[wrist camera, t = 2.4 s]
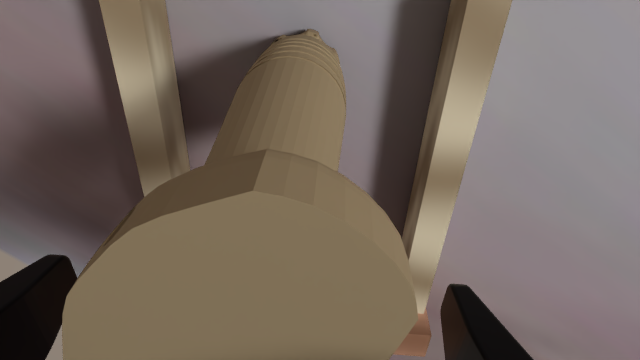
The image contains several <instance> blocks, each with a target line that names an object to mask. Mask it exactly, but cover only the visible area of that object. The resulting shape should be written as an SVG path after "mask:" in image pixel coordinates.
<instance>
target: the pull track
mask: <svg viewBox="0 0 640 360" xmlns="http://www.w3.org/2000/svg"><path fill="white" fill-rule="evenodd" d="M99 3H100V8H101V12H102V16H103V21H104V25H105V29H106V34H107V38H108V42H109V47H110V51H111V55H112V60H113V64H114V68H115V73H116V77H117V81H118V86H119V90H120V94H121V99H122V103H123V107H124V112H125V116H126V120H127V125H128V129H129V133H130V138H131V142H132V146H133V151H134V155H135V159H136V164H137V168H138V172H139V177H140V181H141V185H142V190H143V194H144V197H145V196H146V195H147V194H149V193H150V192H151V191H153V190H154V189H155V188H157V187H158V186H159V185H161V184H163V183H165V182H167V181H168V180H170V179H173V178H175V177H177V176H179V175H182V174H184V173H186V172H189V171H190V165H189V158H188V152H187V145H186V138H185V131H184V125H183V118H182V111H181V104H180V98H179V91H178V84H177V77H176V71H175V64H174V57H173V50H172V44H171V37H170V30H169V23H168V17H167V10H166V3H165V0H99ZM511 3H512V0H451V3H450V7H449V12H448V17H447V22H446V27H445V32H444V37H443V41H442V46H441V51H440V56H439V61H438V66H437V70H436V75H435V80H434V85H433V90H432V95H431V100H430V104H429V109H428V114H427V119H426V124H425V129H424V133H423V138H422V143H421V148H420V153H419V158H418V163H417V167H416V172H415V177H414V182H413V187H412V192H411V196H410V201H409V206H408V211H407V216H406V221H405V226H404V230H403V235H402V242H403V245H404V248H405V251H406V254H407V258H408V261H409V266H410V271H411V275H412V281H413V286H414V292H415V297H416V303H417V311H418V321H417V322H416V324H415V325H414V326H413V328H412V329H411V330H410V332H409V333H408V335H407V336H406V337H405V339H404V340H403V341H402V343H401V344H400V346H399V347H398V348H397V350H396V351H395V352H394V353H393V354H397V355H410V356H423V357H425V354H426V351H427V348H428V345H429V342H430V338H431V331H430V326H429V321H428V316H427V311H426V304H427V300H428V297H429V293H430V290H431V286H432V283H433V279H434V276H435V272H436V269H437V265H438V261H439V258H440V254H441V251H442V247H443V244H444V240H445V237H446V233H447V230H448V226H449V223H450V219H451V215H452V212H453V208H454V205H455V201H456V198H457V194H458V191H459V187H460V184H461V180H462V176H463V173H464V169H465V166H466V162H467V159H468V155H469V152H470V148H471V145H472V141H473V138H474V134H475V130H476V127H477V123H478V120H479V116H480V113H481V109H482V106H483V102H484V99H485V95H486V92H487V88H488V84H489V81H490V77H491V74H492V70H493V67H494V63H495V60H496V56H497V53H498V49H499V45H500V42H501V38H502V35H503V31H504V28H505V24H506V21H507V17H508V14H509V10H510V7H511Z"/></svg>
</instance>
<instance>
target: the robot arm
mask: <svg viewBox="0 0 640 360" xmlns="http://www.w3.org/2000/svg"><path fill="white" fill-rule="evenodd" d="M76 280H77V276H76V273H75V271H74V269H73V266H72V264H71V261H70V259H69V258H68V257H67V256H64V255H47V256H45V257H43V258H41V259H39V260H38V261H36V262H34V263H33V264H31V265H29V266H27V267H26V268H24V269H22V270H21V271H19V272H17V273H15V274H14V275H12V276H10V277H9V278H7V279H5V280H3V281H1V282H0V360H45V359H46V357H47V355H48V353H49V351H50V349H51V347H52V345H53V343H54V341H55V339H56V337H57V334H58V332H59V330H60V327H61V325H62V316H63V310H64V305H65V301H66V296H67V295H68V293H69V291H70V290H71V288H72V287H73V285H74V283H75V282H76ZM441 324H442V333H443V342H444V351H445V360H533V359H532V357H531V356H530V355H529V354H528V353H527V352H526V351H525V350H524V348H523V347H522V346H521V345H520V344H519V343H518V342H517V340H516V339H515V338H514V337H513V336H512V335H511V334H510V333H509V331H508V330H507V329H506V328H505V327H504V326H503V325H502V324H501V322H500V321H499V320H498V319H497V318H496V317H495V316H494V314H493V313H492V312H491V311H490V310H489V309H488V308H487V307H486V305H485V304H484V303H483V302H482V301H481V300H480V299H479V297H478V296H477V295H476V294H475V293H474V292H473V291H472V290H471V288H470V287H468V286H467V285H463V284H450V285H449V286H448V287H447V290H446V293H445V296H444V299H443V303H442V306H441Z"/></svg>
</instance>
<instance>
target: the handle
mask: <svg viewBox="0 0 640 360" xmlns="http://www.w3.org/2000/svg"><path fill="white" fill-rule="evenodd" d="M339 64H340V62H339V58H338V54H337V52H336V50H335V49H334V48H331V47H329V46H327V45H326V44H325V43H324V42H323V41H322V39H321V38H320V36H319V32H318V31H315V30H312V29H307V31H305V32H303V33H301V34H298V35H291V36H286V35H282V36H280V37H278V38H277V39H276V40H275V41H274V42H272V44H271V45H270V47H269V48H268V49H267V50H265V51H264V52H263V53H262V54H261V56H260V57H259V58H258V59H257V60H256V62H255V63H254V64H253V66H252V67H251V68H250V70H249V71H248V73H247V74H246V76H245V77H244V79H243V80H242V82H241V83H240V85H239V87H238V89H237V91H236V94H235V96H234V98H233V101H232V103H231V105H230V108H229V110H228V112H227V115H226V117H225V119H224V122H223V124H222V127H221V129H220V131H219V134H218V136H217V138H216V140H215V143H214V145H213V147H212V149H211V152H210V154H209V156H208V158H207V161H206V163H205V165H204V166H201V167H198V168H196V169H193V170H191V171H189V172H186V173H184V174H182V175H179V176H177V177H175V178H173V179H170V180H168V181H167V182H165V183H163V184H161V185H159V186H158V187H157V188H155V189H154V190H153V191H151V192H150V193H149V194H147V195H146V196H145V197H144V198H143V199H142V200H141V201H140V202H139V203H138V204H137V205H136V206H135V207H134V208H133V209H132V210H131V211H130V212H129V213H128V215H127V216H126V217H125V218H124V219H123V220H122V221H121V222H120V224H119V225H118V226H117V227H116V228H115V229H114V230H113V232H112V233H111V234H110V235H109V236H108V237H107V239H106V240H105V241H104V242H103V244H102V245H101V246H100V248H99V249H98V250H97V252H96V253H95V254H94V256H93V257H92V258H91V260H90V261H89V262H88V264H87V265H86V267H85V268H84V270H83V271H82V272H81V274H80V275H79V277H78V279H77V280H76V282H75V283H74V285H73V287H72V288H71V290H70V291H69V293H68V295H67V296H66V301H65V305H64V310H63V316H62V338H63V339H62V342H63V360H389V359H390V357H391V356H392V355H393V353H394V352H395V351H396V350H397V348H398V347H399V346H400V344H401V343H402V341H403V340H404V339H405V337H406V336H407V335H408V333H409V332H410V330H411V329H412V328H413V326H414V325H415V324H416V322H417V321H418V311H417V303H416V297H415V292H414V286H413V281H412V275H411V271H410V266H409V261H408V258H407V254H406V251H405V248H404V245H403V242H402V239H401V236H400V234H399V232H398V231H397V229H396V228H395V226H394V225H393V223H392V222H391V220H390V219H389V217H388V215H387V214H386V212H385V211H384V210H383V209H382V208H381V207H380V206H379V205H378V204H377V203H376V202H375V201H374V200H373V199H372V198H371V197H370V196H369V195H368V194H367V193H366V192H365V191H364V190H362V189H361V188H360V187H358V186H357V185H356V184H354V183H353V182H352V181H350V180H349V179H348V178H346V177H345V176H344V175H342V174H340V173H338V166H339V159H340V153H341V146H342V139H343V132H344V126H345V118H346V91H345V84H344V79H343V74H342V70H341V68H340V65H339Z"/></svg>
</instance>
